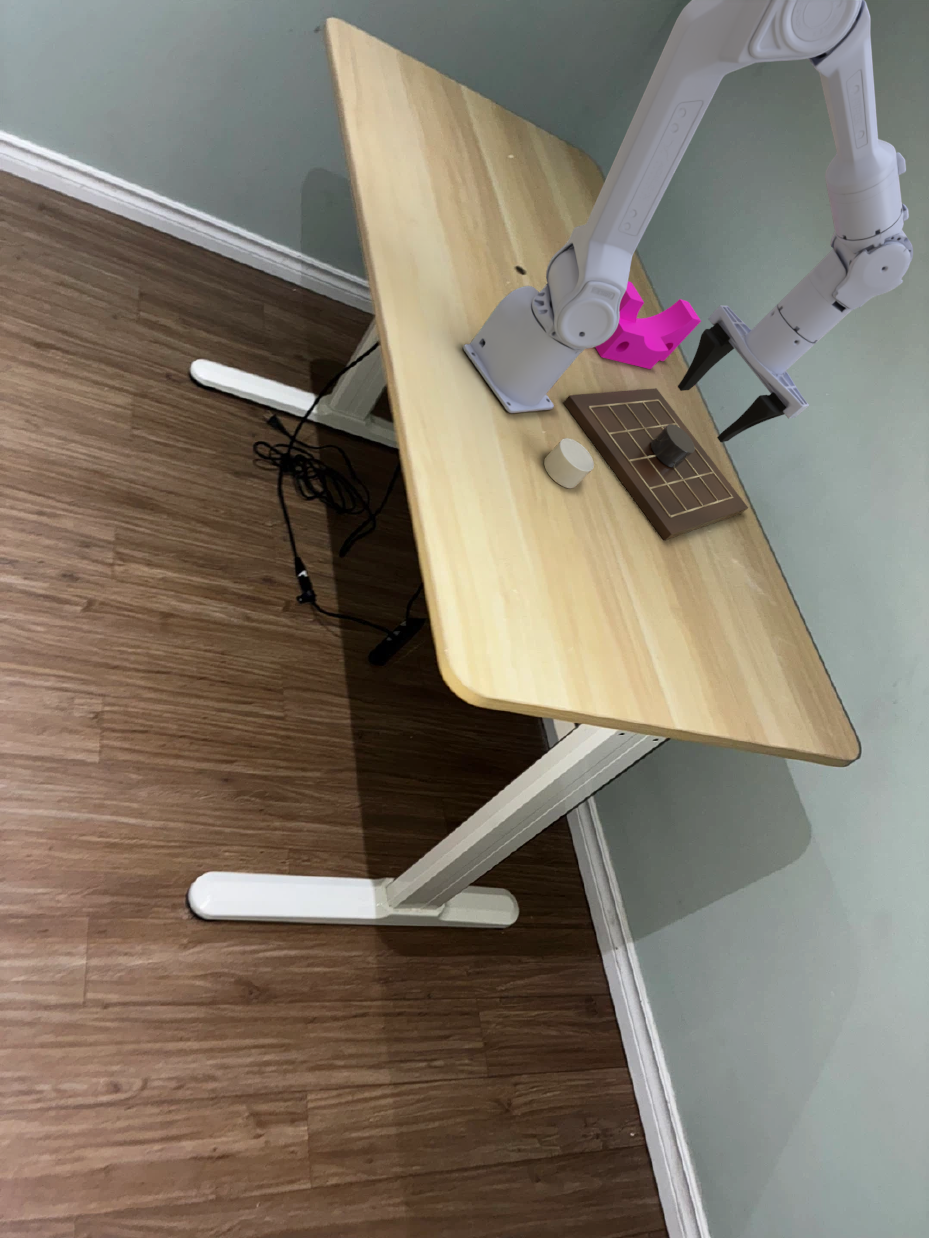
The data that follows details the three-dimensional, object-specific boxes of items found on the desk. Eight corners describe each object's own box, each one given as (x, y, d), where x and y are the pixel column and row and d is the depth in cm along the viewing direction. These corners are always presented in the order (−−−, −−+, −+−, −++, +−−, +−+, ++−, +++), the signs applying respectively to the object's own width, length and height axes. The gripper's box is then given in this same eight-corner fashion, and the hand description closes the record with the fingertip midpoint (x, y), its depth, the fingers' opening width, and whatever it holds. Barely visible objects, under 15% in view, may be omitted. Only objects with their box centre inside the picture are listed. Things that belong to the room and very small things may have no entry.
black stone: (646, 448, 96) (663, 432, 94) (655, 434, 99) (671, 418, 97) (673, 473, 96) (690, 458, 95) (681, 459, 100) (698, 443, 98)
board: (562, 402, 94) (569, 394, 93) (650, 394, 108) (657, 387, 107) (664, 540, 89) (672, 533, 89) (741, 513, 104) (749, 507, 103)
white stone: (536, 457, 84) (552, 439, 83) (561, 453, 88) (577, 436, 86) (560, 491, 83) (577, 473, 82) (584, 485, 87) (601, 468, 85)
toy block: (601, 357, 106) (639, 312, 101) (581, 322, 108) (618, 277, 103) (671, 374, 115) (709, 334, 110) (651, 342, 118) (688, 302, 113)
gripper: (854, 374, 86) (755, 459, 95) (769, 275, 89) (682, 365, 98) (830, 376, 81) (728, 465, 90) (742, 271, 84) (652, 366, 93)
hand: (702, 413), depth 94 cm, fingers open, 7 cm apart
